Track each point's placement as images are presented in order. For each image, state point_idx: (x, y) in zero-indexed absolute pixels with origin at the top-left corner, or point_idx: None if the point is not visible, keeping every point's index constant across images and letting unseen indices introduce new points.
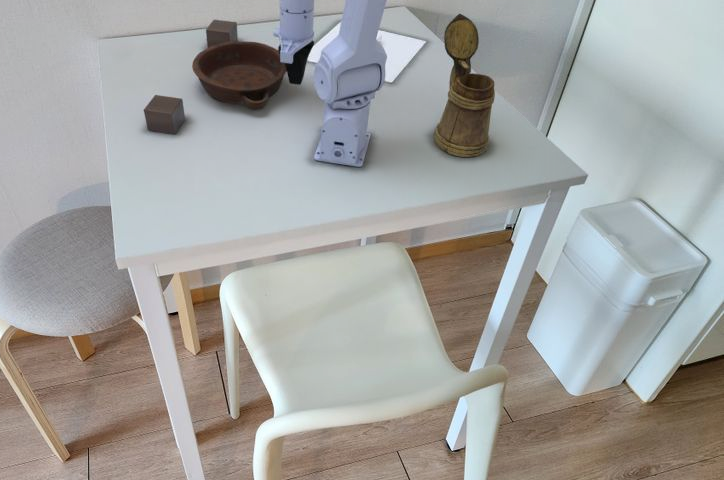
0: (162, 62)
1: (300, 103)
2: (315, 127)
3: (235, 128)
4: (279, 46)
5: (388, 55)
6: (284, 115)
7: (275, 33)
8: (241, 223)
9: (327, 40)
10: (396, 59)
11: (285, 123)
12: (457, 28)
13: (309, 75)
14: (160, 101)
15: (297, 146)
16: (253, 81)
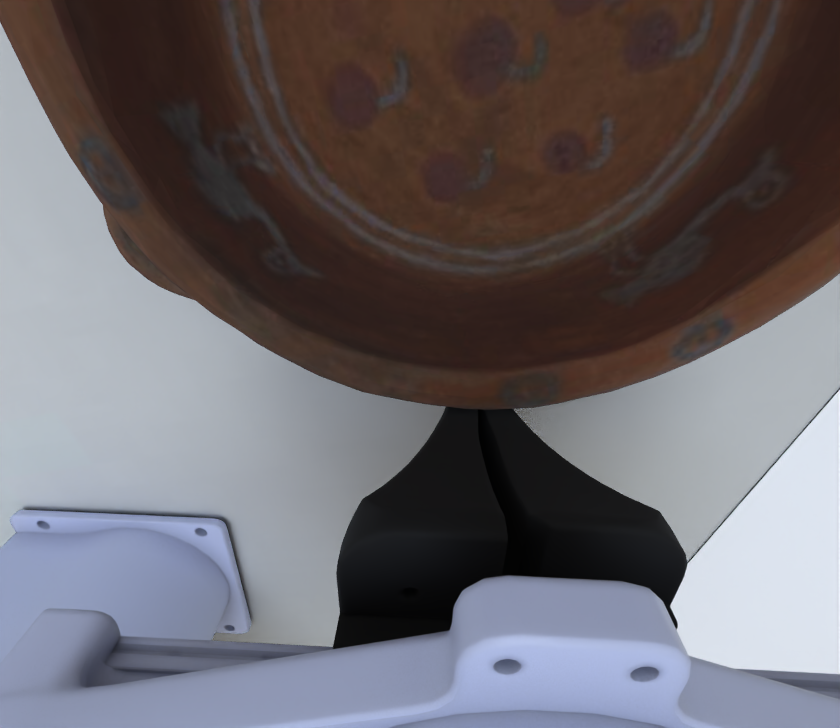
0: None
1: (389, 406)
2: (226, 484)
3: (7, 124)
4: (418, 540)
5: (834, 643)
6: (259, 357)
7: (456, 663)
8: None
9: None
10: (794, 661)
11: (196, 374)
12: None
13: (676, 402)
14: None
15: (65, 446)
16: (534, 96)
